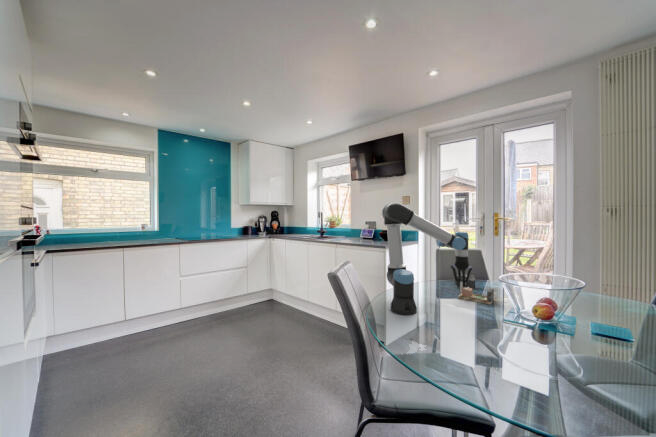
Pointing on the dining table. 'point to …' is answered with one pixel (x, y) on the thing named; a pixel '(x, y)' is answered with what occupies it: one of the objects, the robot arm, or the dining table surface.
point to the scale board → (480, 297)
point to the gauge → (467, 292)
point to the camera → (470, 283)
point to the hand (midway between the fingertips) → (461, 292)
